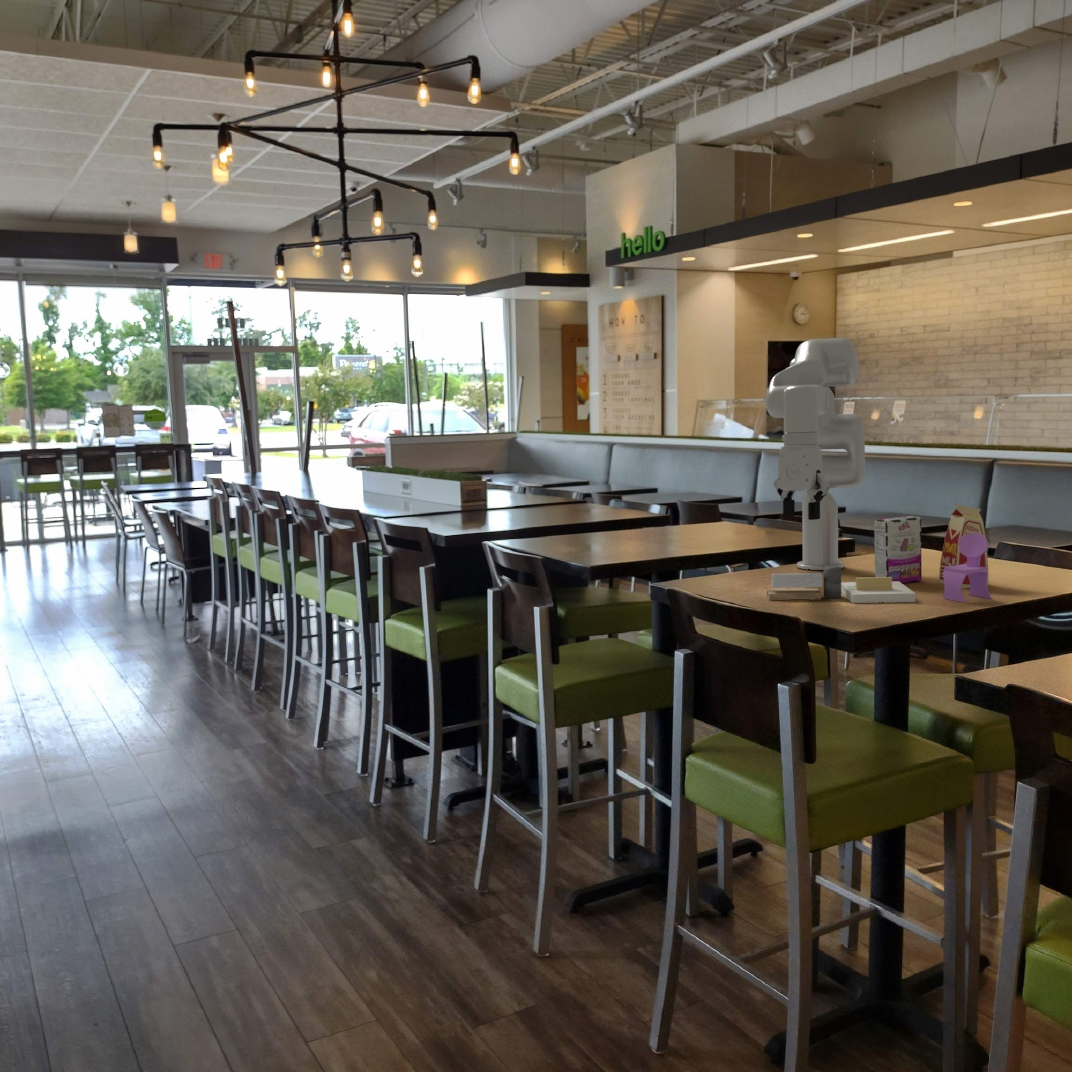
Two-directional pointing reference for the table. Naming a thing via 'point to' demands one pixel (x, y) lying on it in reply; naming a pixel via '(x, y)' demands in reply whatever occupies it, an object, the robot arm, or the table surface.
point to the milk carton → (959, 526)
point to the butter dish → (876, 590)
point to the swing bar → (796, 580)
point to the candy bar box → (898, 548)
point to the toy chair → (968, 569)
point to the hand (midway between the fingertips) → (801, 517)
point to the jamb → (830, 589)
